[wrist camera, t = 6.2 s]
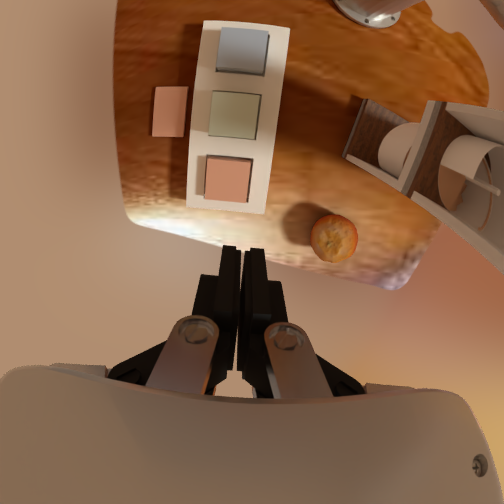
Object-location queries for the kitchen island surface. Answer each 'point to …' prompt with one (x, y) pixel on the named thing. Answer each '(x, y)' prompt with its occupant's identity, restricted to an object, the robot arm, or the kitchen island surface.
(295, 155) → the kitchen island surface
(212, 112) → the key sage
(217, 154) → the keypad board
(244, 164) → the key terracotta
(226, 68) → the key slate blue
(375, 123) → the tiered shelf stand
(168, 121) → the tile
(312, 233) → the fruit
